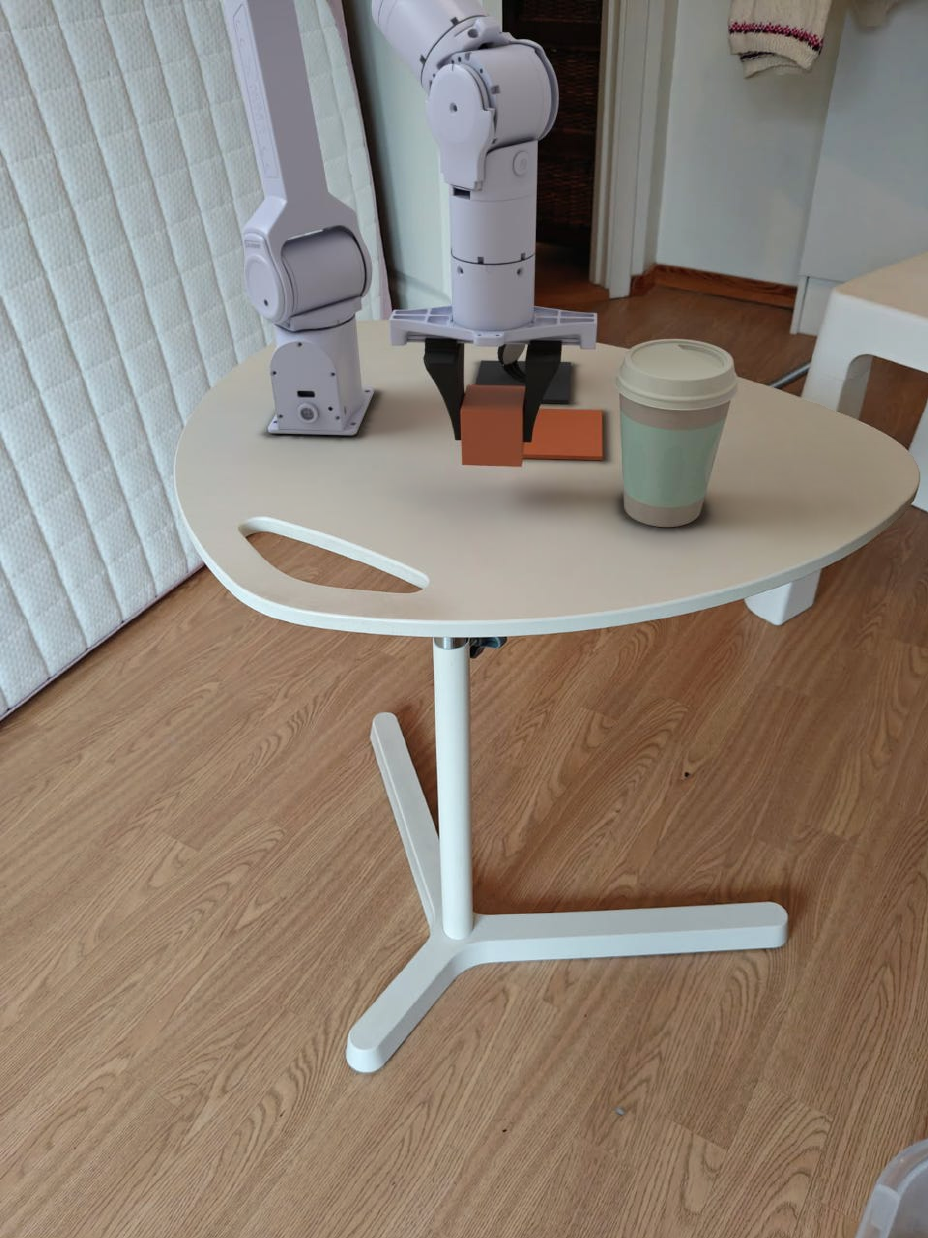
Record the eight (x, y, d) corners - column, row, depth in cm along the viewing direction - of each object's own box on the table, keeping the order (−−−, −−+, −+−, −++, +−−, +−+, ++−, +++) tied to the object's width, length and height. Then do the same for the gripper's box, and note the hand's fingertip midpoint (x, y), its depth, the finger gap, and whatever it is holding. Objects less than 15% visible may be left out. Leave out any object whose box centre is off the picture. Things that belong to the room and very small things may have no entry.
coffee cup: (724, 539, 71) (749, 384, 64) (606, 535, 72) (618, 382, 65) (713, 482, 78) (734, 336, 71) (605, 479, 79) (615, 334, 72)
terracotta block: (521, 467, 73) (522, 411, 70) (461, 465, 74) (460, 409, 71) (525, 439, 77) (526, 385, 74) (468, 438, 77) (466, 384, 74)
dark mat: (569, 403, 91) (569, 399, 90) (472, 401, 92) (472, 397, 91) (570, 365, 98) (571, 361, 98) (481, 363, 99) (481, 360, 98)
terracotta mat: (602, 460, 82) (602, 456, 81) (494, 457, 82) (494, 453, 82) (601, 413, 89) (602, 409, 89) (502, 411, 90) (502, 407, 89)
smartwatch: (527, 366, 97) (528, 316, 94) (553, 385, 93) (555, 333, 90) (490, 374, 95) (490, 324, 92) (515, 393, 92) (516, 342, 89)
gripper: (376, 269, 64) (390, 457, 72) (601, 272, 62) (589, 463, 70) (394, 237, 69) (405, 415, 77) (600, 239, 68) (590, 420, 76)
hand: (493, 435), depth 74 cm, fingers closed on terracotta block, 4 cm apart
